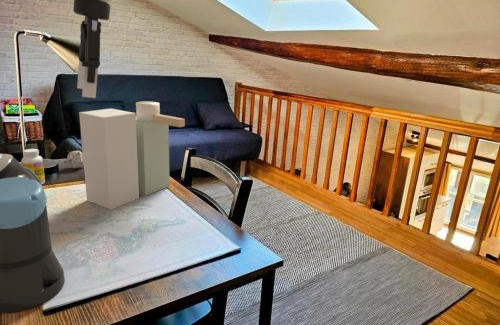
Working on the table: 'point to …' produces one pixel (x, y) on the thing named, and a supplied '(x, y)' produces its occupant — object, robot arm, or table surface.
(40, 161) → the supplement bottle
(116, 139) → the tall stand
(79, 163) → the game die
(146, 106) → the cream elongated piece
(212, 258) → the table surface
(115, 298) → the table surface
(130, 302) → the table surface
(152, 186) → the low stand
